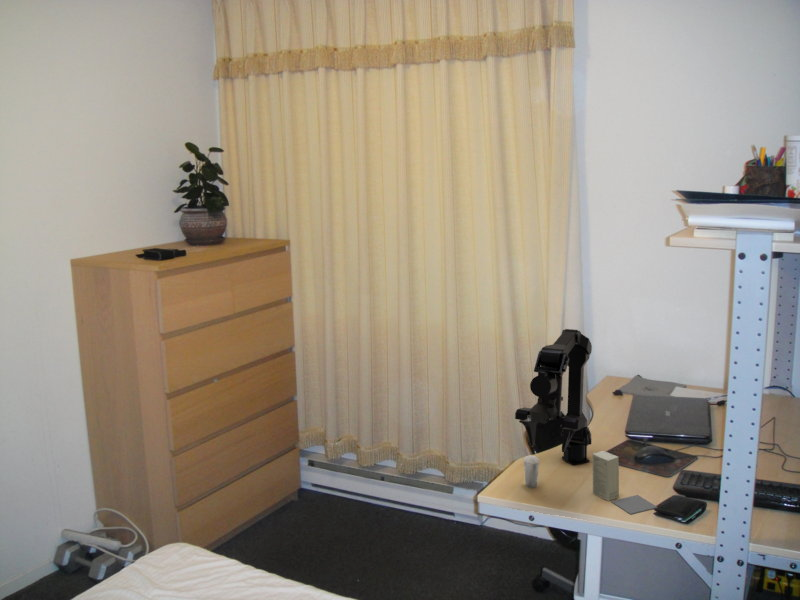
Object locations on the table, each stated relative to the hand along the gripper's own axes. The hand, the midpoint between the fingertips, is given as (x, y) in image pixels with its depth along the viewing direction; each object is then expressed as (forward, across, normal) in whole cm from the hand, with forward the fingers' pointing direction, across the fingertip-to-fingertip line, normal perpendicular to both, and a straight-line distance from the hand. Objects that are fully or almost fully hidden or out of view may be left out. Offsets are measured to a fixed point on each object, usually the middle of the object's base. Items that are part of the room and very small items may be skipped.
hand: (547, 448), depth 194 cm
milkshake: (+14, -8, +8) cm, 18 cm away
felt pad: (+14, +21, +12) cm, 28 cm away
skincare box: (+13, +12, +13) cm, 22 cm away
